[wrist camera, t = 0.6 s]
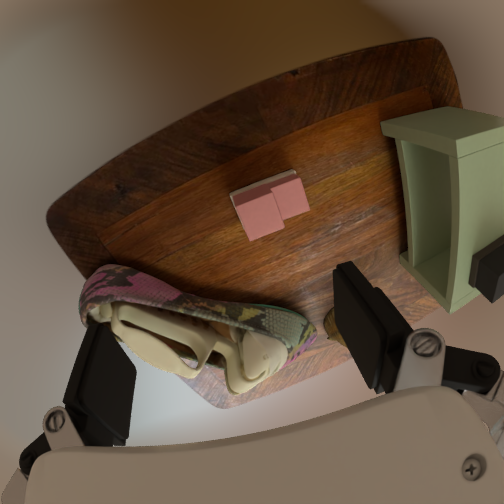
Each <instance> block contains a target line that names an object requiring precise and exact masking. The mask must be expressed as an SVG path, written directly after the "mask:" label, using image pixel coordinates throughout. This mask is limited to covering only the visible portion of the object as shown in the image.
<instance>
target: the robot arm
mask: <svg viewBox="0 0 504 504" xmlns="http://www.w3.org/2000/svg"><path fill="white" fill-rule="evenodd" d="M333 289H334V319H335V324H336V327H337V329H338V331H339V333H340V334H341V336H342V338H343V340H344V342H345V344H346V346H347V347H348V349H349V351H350V353H351V355H352V357H353V359H354V361H355V363H356V364H357V366H358V368H359V370H360V372H361V374H362V376H363V378H364V380H365V382H366V384H367V386H368V387H369V388H370V389H372V388H374V390H375V392H376V394H379V393H381V392H384V391H385V393H386V394H385V395H382V396H379V397H376V398H374V399H370V400H367V401H364V402H362V403H359V404H356V405H353V406H350V407H348V408H345V409H342V410H339V411H336V412H332V413H329V414H326V415H323V416H320V417H316V418H313V419H310V420H306V421H302V422H299V423H295V424H292V425H288V426H284V427H280V428H275V429H271V430H267V431H262V432H257V433H253V434H247V435H242V436H237V437H231V438H225V439H218V440H211V441H204V442H196V443H186V444H176V445H162V446H142V447H141V446H139V447H113V445H114V446H125V443H126V439H128V437H129V428H130V419H131V410H132V402H133V395H134V388H135V380H136V373H137V372H136V368H135V366H134V364H133V363H132V361H131V360H130V359H129V357H128V356H127V355H126V353H125V352H124V350H123V349H122V348H121V346H120V345H119V343H118V342H117V340H116V339H115V337H114V336H113V334H112V333H111V331H110V330H109V328H108V327H107V326H104V324H102V323H97V324H92V325H89V326H88V328H87V331H86V334H85V336H84V339H83V341H82V344H81V347H80V349H79V352H78V355H77V358H76V361H75V364H74V367H73V370H72V373H71V376H70V379H69V382H68V385H67V388H66V392H65V395H64V398H63V403H64V404H65V408H63V407H61V406H57V407H53V408H52V409H50V410H49V411H48V412H47V413H46V415H45V416H44V419H43V430H44V433H43V434H41V435H40V436H39V437H38V438H37V439H36V440H35V441H34V442H32V443H31V444H30V445H29V446H28V447H27V448H26V449H24V450H23V452H22V453H21V455H20V459H19V465H20V468H21V470H20V469H19V468H17V470H16V472H15V473H14V475H13V476H12V478H11V480H10V481H9V483H8V484H7V486H6V488H5V490H4V491H3V493H2V504H504V371H502V370H500V365H499V363H498V362H497V360H496V359H495V358H494V357H492V356H491V355H488V354H485V353H480V352H475V351H470V350H465V349H460V348H456V347H451V346H446V345H445V340H444V338H443V337H442V335H441V334H440V333H439V332H437V331H435V330H433V329H429V328H420V329H417V330H413V329H412V328H411V326H410V325H409V324H408V323H407V321H406V320H405V319H404V317H403V316H402V315H401V314H400V312H399V311H398V310H397V309H396V307H395V306H394V305H393V304H392V302H391V301H390V300H389V299H388V297H387V296H386V295H385V294H384V293H383V291H382V290H381V289H380V288H378V287H375V288H373V286H372V285H371V284H370V283H369V281H368V280H367V279H366V278H365V277H364V275H363V274H362V273H361V272H360V271H359V269H358V268H357V267H356V266H355V265H354V263H353V262H352V261H348V262H345V263H341V264H338V265H337V267H336V269H334V270H333ZM482 421H483V422H485V423H486V424H487V426H488V428H489V432H488V430H487V428H486V427H485V425H484V423H483V422H482Z"/></svg>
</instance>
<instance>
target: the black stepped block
mask: <svg viewBox="0 0 504 504" xmlns="http://www.w3.org/2000/svg"><path fill="white" fill-rule="evenodd" d="M468 284H469V285H470V286H471V287H472V288H476V289H477V290H478V291H479V292H480V293H482V294H483V295H484V296H485V297H486V298H487V299H488V300H489V301H490V302H491V303H494V302H495V301H496V300H497V299H499V298H500V297H501V296H502V295H503V294H504V235H502V236H501V237H499V238H498V239H496V240H495V241H494V242H492V243H491V244H489V245H488V246H486V247H485V248H483V249H481V250H480V251H478V252H477V253H475V254H474V255H472V262H471V270H470V276H469V282H468Z"/></svg>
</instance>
